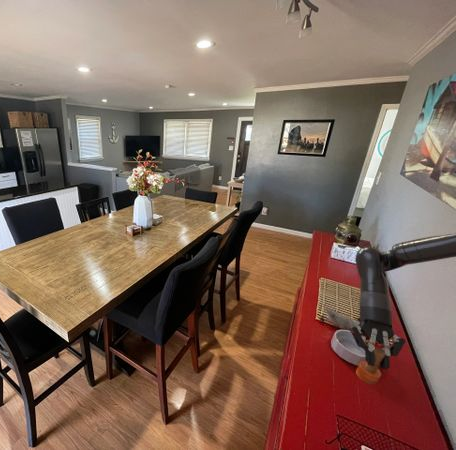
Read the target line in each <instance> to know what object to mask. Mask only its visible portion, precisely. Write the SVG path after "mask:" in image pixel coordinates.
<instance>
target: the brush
mask: <svg viewBox="0 0 456 450" xmlns="http://www.w3.org/2000/svg"><path fill="white" fill-rule="evenodd" d="M374 348H375V349H374V350H373V353H374V366H370V365H368V363H367V362H360V364H359V366H358V365H357V367H356V370H355V374H356V376H357V377H358V378H359V380H361V381H363V382H364V383H365V384H368V385H372V386H374V385H377V384H378V382H379V380H380V378H381V377H382V372H381V371H380V369H379V367H380V364H381V362H382V360H383V358H384V357H385V353H384V352H383V351H382V350H380V348H379V347H378V348H377V347H374Z"/></svg>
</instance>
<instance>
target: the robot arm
mask: <svg viewBox="0 0 456 450" xmlns="http://www.w3.org/2000/svg"><path fill="white" fill-rule="evenodd" d="M450 258H456V232H455V233H448V234H440V235H432V236H426V237H421V238H415V239H411V240H405V241H403V242H398V243H395V244H393V245H392V247H391V249H389V250H387V251H381V250H379V249H378V248H377V247H373V246H363V247H362V248H360V249H358V251H357V252H356V253H355V265H356V269H357V273H358V276H359V281H360V282H359V289H360V291H359V292H360V293H359V303H358V305H359V318H360V321H359V322H360V324H359V326H356V327H350V328H349V329H350V330H349V331H351V333H352V335H353V337H354V339H355V341H356V343H357V345H358V346H359V347H361V348H363V349H364V350H365V360H366V362H367V363H368V365H370V366H374V353H373V349H374V348H375V345H376V343H377V346H378V349H380V350H382V351H383V352H384V353H385V357H384V358H383V360H382V362H381V364H380V365H379V367H380V369H381V370H385V371H388V370H389V369H390V368H391V364H390V361H391V360H390V358H391V357H398V355H399V354H400V352H401V350H402V349H403V347H404V345H405V343H406V339H405V338H403V337H399V336H398V335H396V334H395V331H394V330H393V313H392V303H391V298H390V286H389V282H388V279H387V278H386V277H385V276H384V273H386V272H390V271H393V270H397V269H400V268H403V267H405V266H407V265H415V264H416V265H417V264H422V263H428V262H434V261H440V260H445V259H450ZM361 331H362V332H363V334H362V335H364V338H365V340H363V338H362V337H363V336H362V335H361V334H360V333H361ZM391 339H392V340H391ZM390 340H391V342H392V344H390Z"/></svg>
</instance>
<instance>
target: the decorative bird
mask: <svg viewBox="0 0 456 450" xmlns="http://www.w3.org/2000/svg"><path fill="white" fill-rule="evenodd" d="M323 308H324V311H325V312H326V315H323V313H321V321H322V322H321V324H322V323H323V324H324V321H329V322H330V323H332V324H334V326H337V327H339V328H340V329H341V330H349V331H350V329H349V328H350V327H356V326H359V324H360V321H359V320H355V319H353V318H351V317H349V316H347V315H345V314H343V313H340V312H339V311H335V310H332V309H330V308H329V307H325V306H324V307H323ZM324 317H325V318H326V317H327V318H326V319H324ZM360 334H361V336H362V335H364V334H363V332H362V331H361V333H360Z"/></svg>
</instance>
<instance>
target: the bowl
mask: <svg viewBox="0 0 456 450" xmlns="http://www.w3.org/2000/svg"><path fill="white" fill-rule="evenodd" d="M362 338H363V340H365V336H362ZM330 346H331V348H332V350H333V352H335V353H336V354H337V356H339V357H340V358H341V359H342V360H345V361H346V362H348V363H350V364H353V365H355V366H357V367H358V366H359V364H360V362H366V360H365V350H364V349H363V348H361V347H359V346H358V345H357V343H356V341H355V339H354V337H353V335H352V333H351V331H350V330H348V329H337V330H336V331H335V332H334V334H333V335H332V339H331V340H330ZM375 348H376V347H374V349H375ZM374 349H373V350H374Z"/></svg>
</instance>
